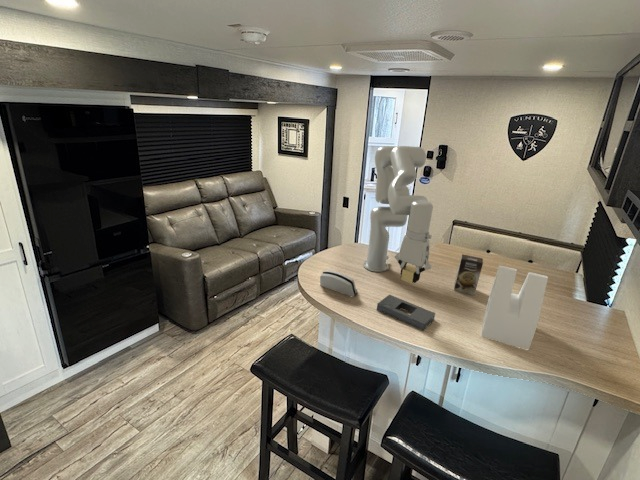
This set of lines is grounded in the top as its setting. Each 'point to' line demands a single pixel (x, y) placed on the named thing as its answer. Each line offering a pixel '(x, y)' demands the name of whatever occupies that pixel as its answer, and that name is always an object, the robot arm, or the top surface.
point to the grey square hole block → (417, 318)
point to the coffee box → (468, 274)
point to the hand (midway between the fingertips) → (409, 278)
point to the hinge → (338, 282)
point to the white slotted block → (514, 308)
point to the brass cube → (408, 274)
